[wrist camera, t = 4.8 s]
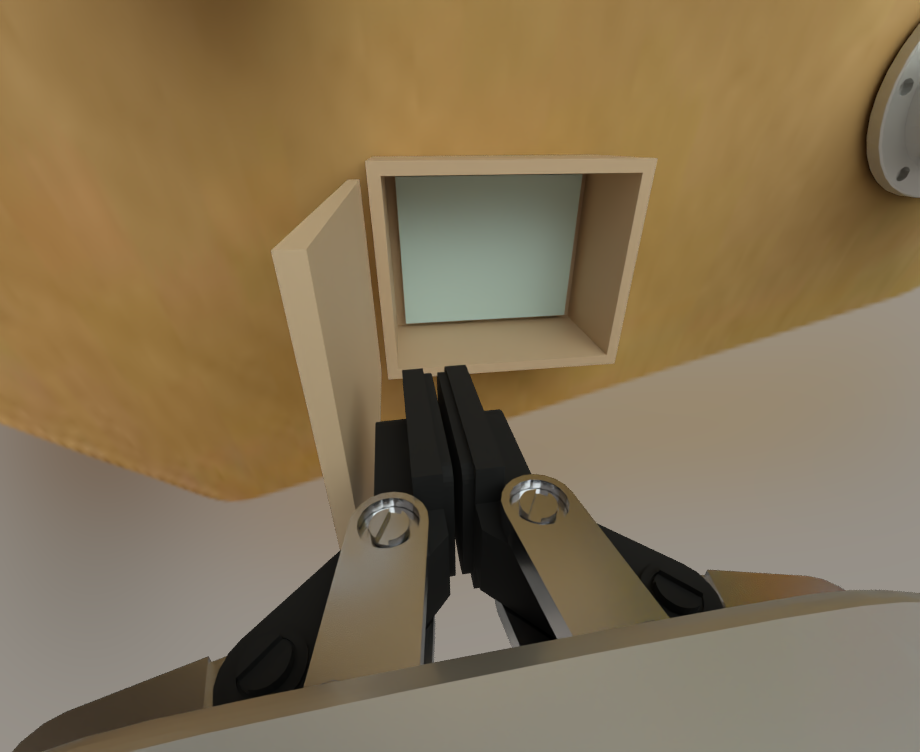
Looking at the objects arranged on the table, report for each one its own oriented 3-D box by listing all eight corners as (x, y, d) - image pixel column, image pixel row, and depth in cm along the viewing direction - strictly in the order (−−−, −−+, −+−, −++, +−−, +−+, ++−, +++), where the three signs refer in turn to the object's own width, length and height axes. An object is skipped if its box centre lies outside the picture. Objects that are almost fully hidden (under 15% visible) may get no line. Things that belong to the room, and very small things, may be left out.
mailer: (595, 154, 25) (657, 158, 19) (571, 320, 31) (614, 363, 25) (372, 156, 24) (365, 160, 18) (389, 330, 29) (388, 379, 23)
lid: (306, 248, 6) (265, 250, 6) (375, 618, 11) (353, 621, 11) (359, 179, 18) (345, 179, 18) (381, 371, 22) (370, 372, 22)
